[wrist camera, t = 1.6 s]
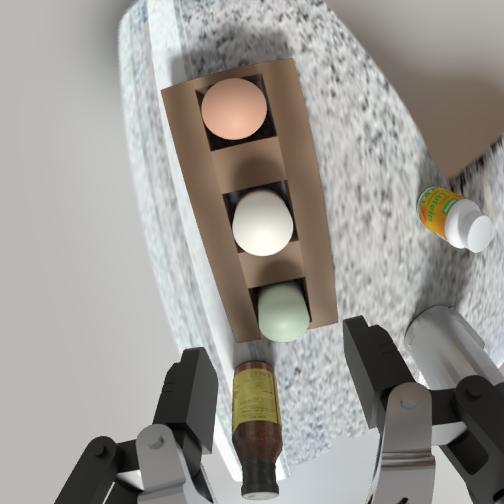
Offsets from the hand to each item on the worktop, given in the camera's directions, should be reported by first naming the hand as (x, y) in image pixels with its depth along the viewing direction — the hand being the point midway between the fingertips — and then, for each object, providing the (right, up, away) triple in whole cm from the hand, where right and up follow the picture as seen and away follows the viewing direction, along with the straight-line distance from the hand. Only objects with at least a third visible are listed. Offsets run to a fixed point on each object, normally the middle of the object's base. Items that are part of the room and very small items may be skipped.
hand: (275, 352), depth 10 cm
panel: (0, +8, +20) cm, 21 cm away
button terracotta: (-2, +17, +14) cm, 22 cm away
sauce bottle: (0, -14, +30) cm, 33 cm away
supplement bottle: (+21, +9, +20) cm, 30 cm away
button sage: (+2, -1, +22) cm, 22 cm away
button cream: (0, +8, +18) cm, 19 cm away
